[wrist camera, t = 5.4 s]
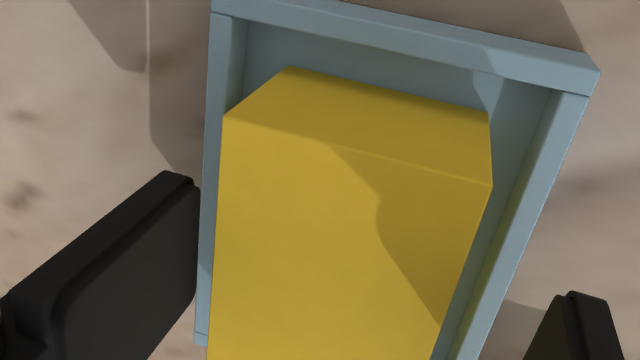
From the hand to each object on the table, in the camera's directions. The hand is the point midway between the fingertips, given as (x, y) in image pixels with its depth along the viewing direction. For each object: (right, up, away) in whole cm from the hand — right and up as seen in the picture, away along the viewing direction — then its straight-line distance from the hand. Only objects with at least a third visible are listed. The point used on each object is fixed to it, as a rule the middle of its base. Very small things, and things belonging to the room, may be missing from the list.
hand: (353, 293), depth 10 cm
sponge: (0, +1, +3) cm, 3 cm away
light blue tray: (0, +1, +3) cm, 3 cm away
